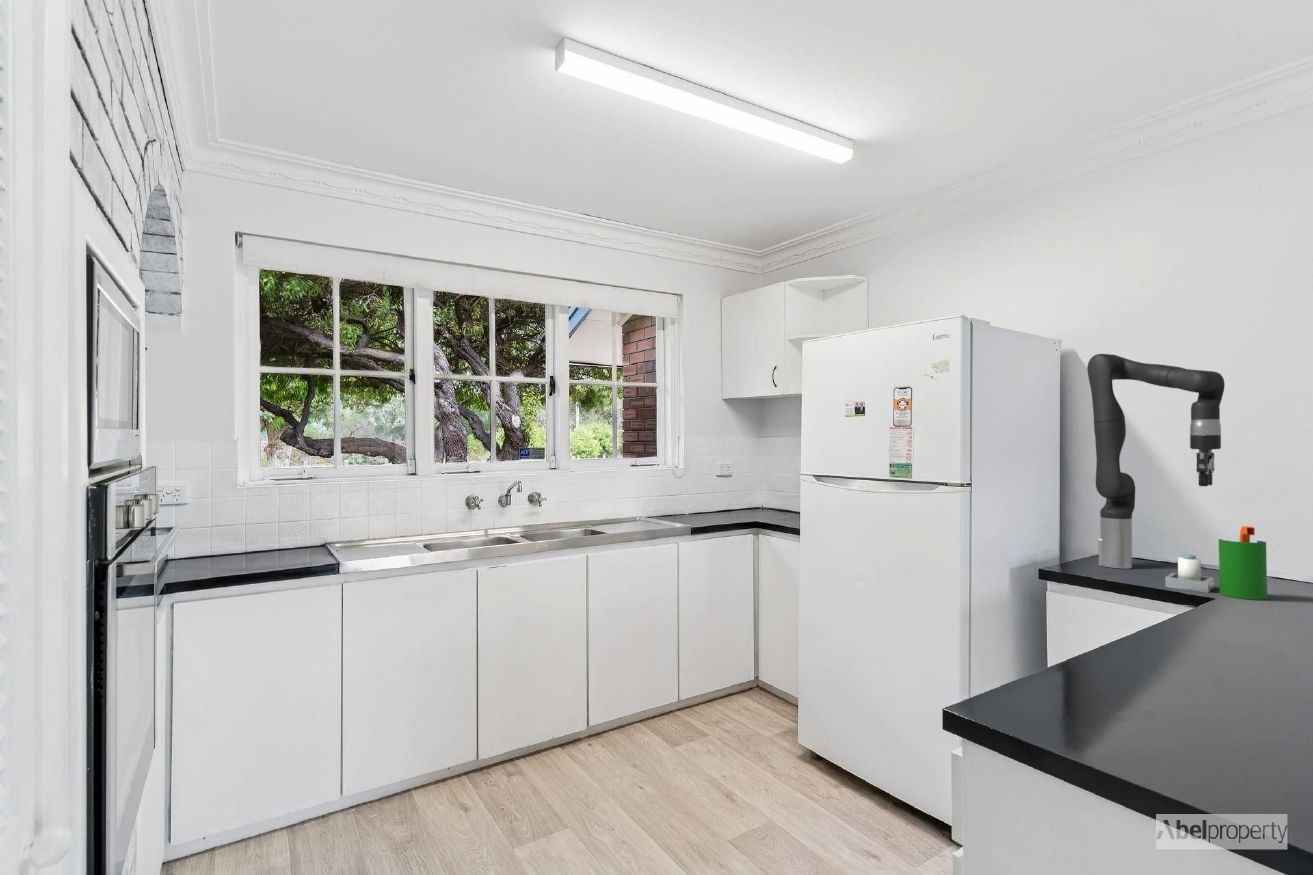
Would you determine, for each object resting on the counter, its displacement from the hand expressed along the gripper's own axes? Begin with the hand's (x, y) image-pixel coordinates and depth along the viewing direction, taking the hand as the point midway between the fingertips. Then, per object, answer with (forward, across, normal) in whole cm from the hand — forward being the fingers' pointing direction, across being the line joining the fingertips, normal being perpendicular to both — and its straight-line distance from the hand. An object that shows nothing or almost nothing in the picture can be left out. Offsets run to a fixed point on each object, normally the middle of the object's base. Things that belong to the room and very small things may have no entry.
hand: (1205, 485), depth 210 cm
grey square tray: (+30, +15, -2) cm, 34 cm away
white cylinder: (+29, +15, -2) cm, 33 cm away
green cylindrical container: (+30, +19, +11) cm, 37 cm away
